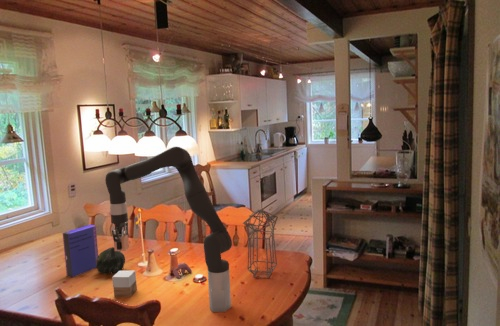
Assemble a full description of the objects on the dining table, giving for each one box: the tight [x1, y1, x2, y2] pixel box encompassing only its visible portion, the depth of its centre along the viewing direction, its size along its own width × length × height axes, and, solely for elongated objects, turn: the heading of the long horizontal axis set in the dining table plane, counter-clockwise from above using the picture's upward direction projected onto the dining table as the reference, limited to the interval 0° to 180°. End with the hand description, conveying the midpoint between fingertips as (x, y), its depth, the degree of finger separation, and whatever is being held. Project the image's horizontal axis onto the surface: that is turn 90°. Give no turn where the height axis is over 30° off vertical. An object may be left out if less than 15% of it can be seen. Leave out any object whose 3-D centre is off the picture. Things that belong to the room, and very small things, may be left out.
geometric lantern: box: [242, 208, 278, 279], centre depth 209 cm, size 16×16×35 cm
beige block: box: [113, 234, 130, 252], centre depth 193 cm, size 5×5×6 cm
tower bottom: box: [112, 280, 138, 298], centre depth 196 cm, size 8×8×5 cm
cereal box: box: [62, 224, 99, 278], centre depth 226 cm, size 17×5×24 cm, turn 149°
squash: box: [96, 247, 126, 275], centre depth 223 cm, size 14×15×15 cm
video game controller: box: [172, 262, 193, 279], centre depth 216 cm, size 10×5×7 cm, turn 142°
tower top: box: [111, 270, 137, 288], centre depth 195 cm, size 8×8×5 cm
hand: (121, 247), depth 194 cm, fingers closed on beige block, 5 cm apart
